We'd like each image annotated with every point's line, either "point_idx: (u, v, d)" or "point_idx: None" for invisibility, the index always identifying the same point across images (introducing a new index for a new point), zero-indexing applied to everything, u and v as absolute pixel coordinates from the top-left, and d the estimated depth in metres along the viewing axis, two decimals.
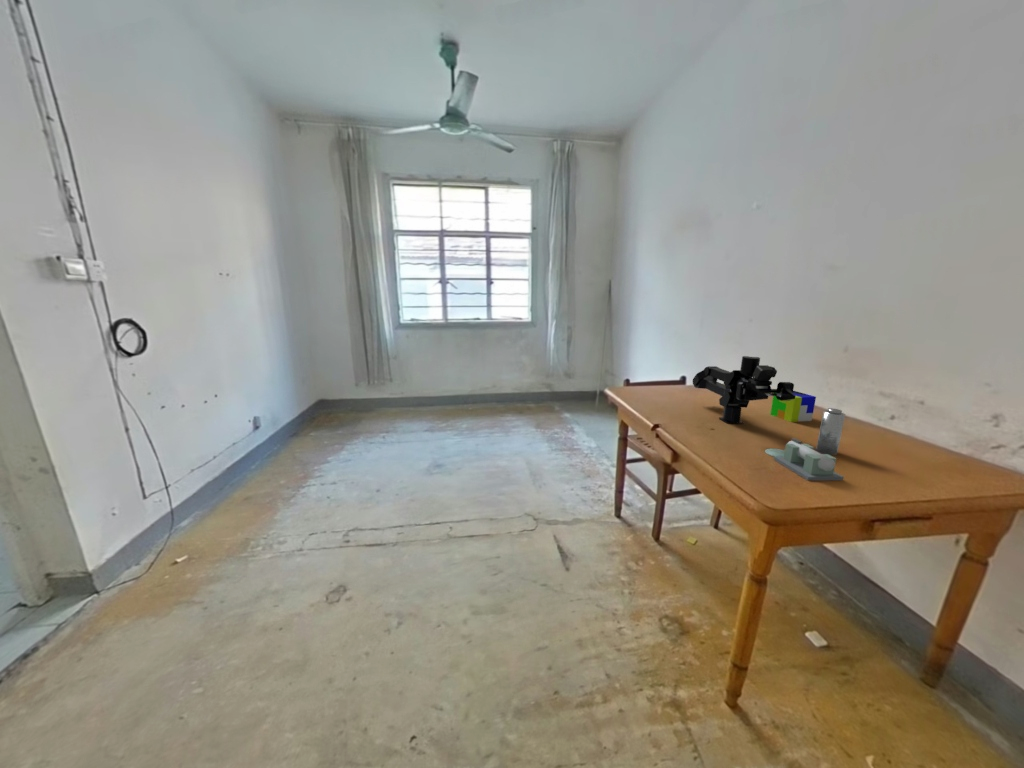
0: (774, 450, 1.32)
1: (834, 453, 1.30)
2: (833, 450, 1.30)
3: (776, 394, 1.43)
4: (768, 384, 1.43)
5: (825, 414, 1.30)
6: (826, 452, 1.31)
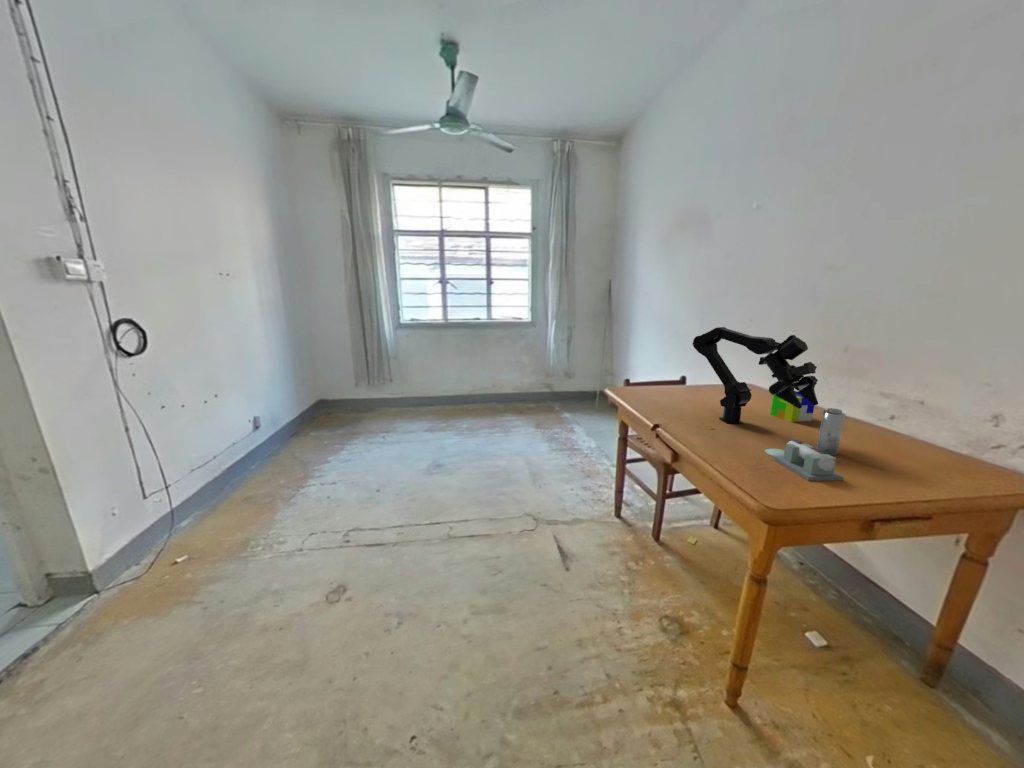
0: (774, 450, 1.32)
1: (834, 453, 1.30)
2: (833, 450, 1.30)
3: None
4: (799, 378, 1.40)
5: (825, 414, 1.30)
6: (826, 452, 1.31)
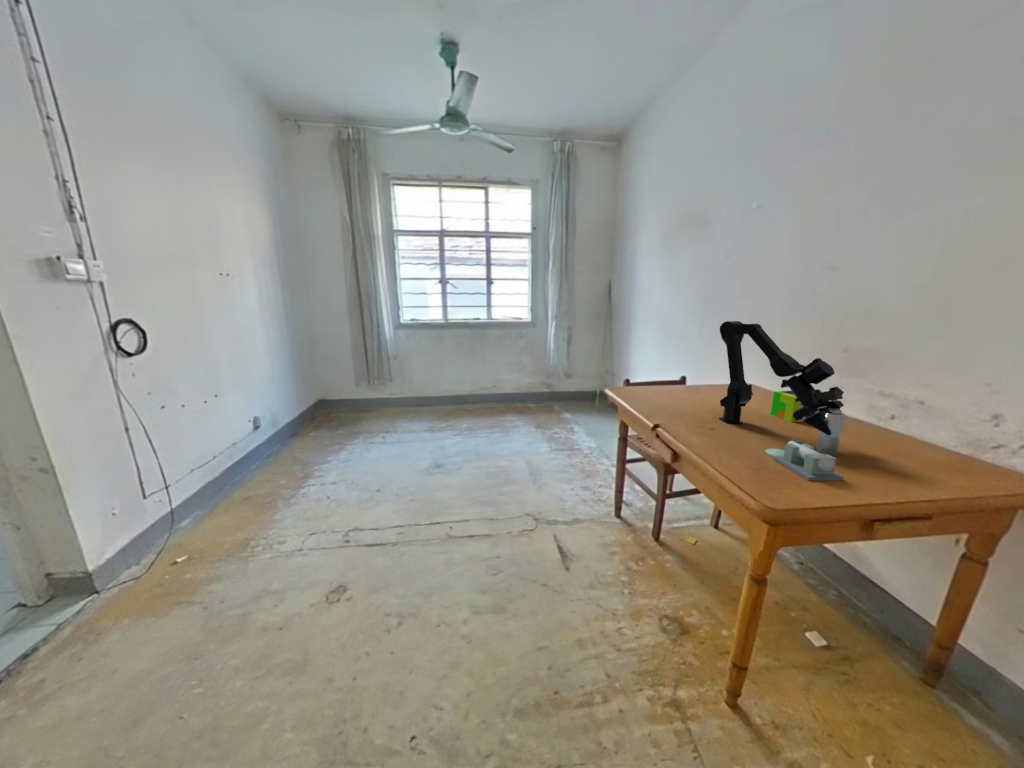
0: (774, 450, 1.32)
1: (834, 453, 1.30)
2: (833, 450, 1.30)
3: None
4: (825, 403, 1.34)
5: (825, 414, 1.30)
6: (826, 452, 1.31)
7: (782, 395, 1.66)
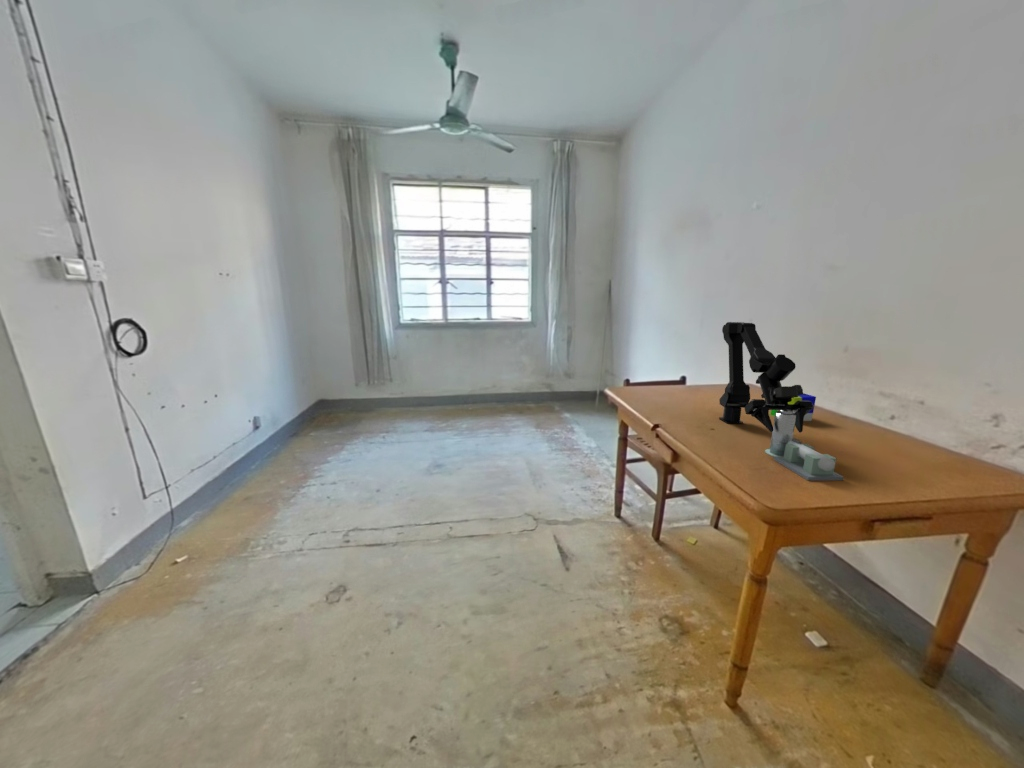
0: None
1: (782, 454, 1.28)
2: (780, 450, 1.28)
3: None
4: (786, 401, 1.30)
5: (775, 414, 1.29)
6: (773, 452, 1.29)
7: None
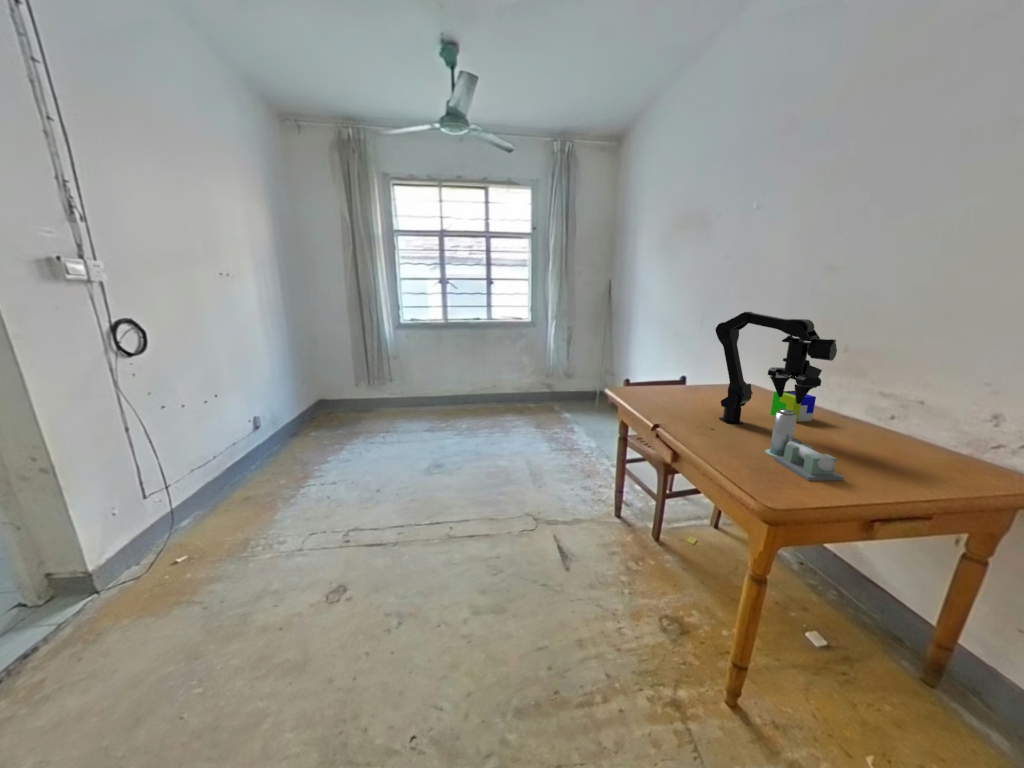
0: None
1: (782, 455, 1.28)
2: (780, 451, 1.28)
3: None
4: None
5: None
6: (773, 452, 1.29)
7: (782, 395, 1.66)
